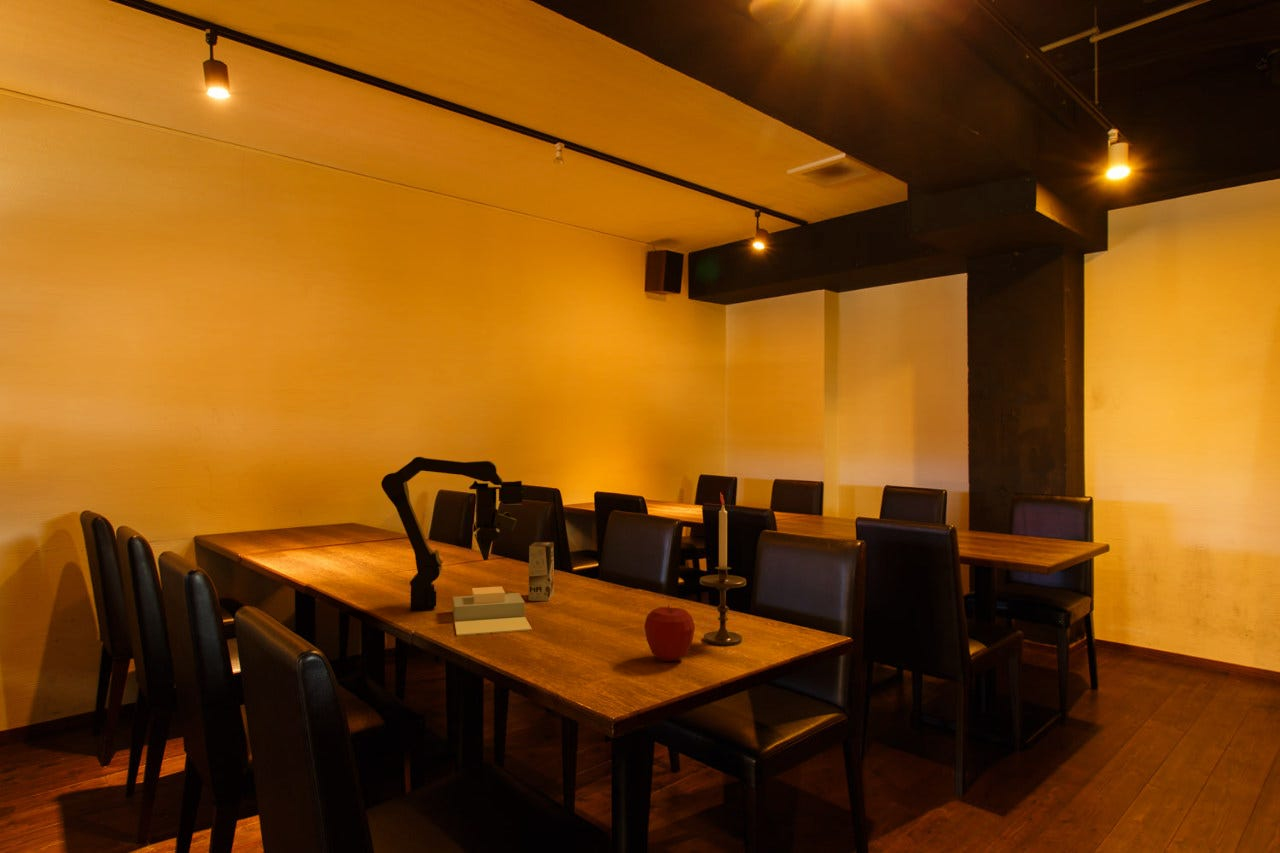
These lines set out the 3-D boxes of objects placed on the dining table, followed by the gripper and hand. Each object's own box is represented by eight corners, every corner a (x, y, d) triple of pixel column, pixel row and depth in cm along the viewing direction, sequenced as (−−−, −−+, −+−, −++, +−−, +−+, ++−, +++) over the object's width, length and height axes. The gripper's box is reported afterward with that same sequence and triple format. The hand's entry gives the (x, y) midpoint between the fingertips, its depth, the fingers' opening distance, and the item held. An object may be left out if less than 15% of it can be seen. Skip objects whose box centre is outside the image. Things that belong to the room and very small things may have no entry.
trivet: (474, 603, 182) (474, 594, 182) (472, 597, 189) (472, 588, 189) (504, 601, 184) (505, 592, 184) (501, 595, 192) (501, 586, 192)
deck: (454, 622, 178) (454, 606, 178) (452, 611, 190) (452, 596, 190) (524, 617, 183) (524, 602, 184) (518, 607, 195) (518, 592, 195)
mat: (456, 636, 166) (456, 634, 166) (454, 623, 177) (454, 621, 177) (531, 630, 171) (531, 628, 171) (525, 618, 183) (525, 616, 183)
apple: (656, 670, 142) (656, 613, 142) (636, 655, 152) (636, 601, 152) (703, 663, 146) (703, 608, 146) (680, 649, 156) (681, 597, 156)
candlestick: (709, 648, 157) (710, 494, 158) (693, 635, 167) (693, 490, 168) (753, 645, 160) (753, 493, 160) (734, 632, 170) (735, 490, 171)
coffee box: (549, 601, 202) (550, 546, 203) (527, 601, 202) (528, 545, 203) (554, 594, 211) (554, 541, 212) (533, 594, 211) (533, 541, 212)
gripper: (518, 507, 190) (518, 564, 190) (510, 501, 208) (510, 553, 208) (477, 508, 187) (476, 566, 187) (472, 502, 205) (472, 555, 204)
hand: (485, 560), depth 196 cm, fingers closed
